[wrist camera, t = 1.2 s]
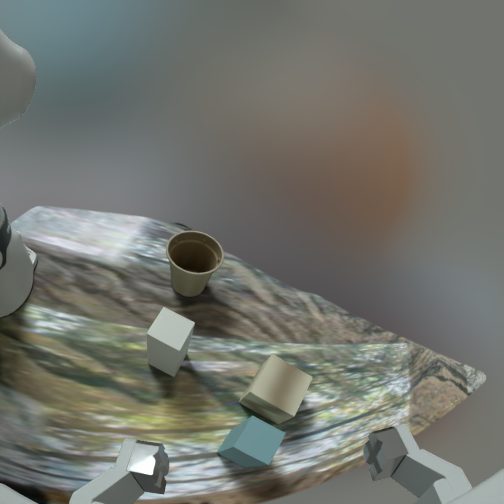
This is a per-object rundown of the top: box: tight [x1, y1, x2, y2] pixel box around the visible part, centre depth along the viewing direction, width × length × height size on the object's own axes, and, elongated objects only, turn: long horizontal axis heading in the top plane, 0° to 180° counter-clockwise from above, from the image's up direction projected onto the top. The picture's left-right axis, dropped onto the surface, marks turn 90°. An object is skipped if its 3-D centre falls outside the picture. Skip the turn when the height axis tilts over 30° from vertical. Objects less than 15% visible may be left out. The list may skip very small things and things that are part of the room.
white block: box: [147, 307, 195, 377], centre depth 37 cm, size 4×4×10 cm
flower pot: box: [166, 231, 224, 297], centre depth 48 cm, size 9×9×9 cm
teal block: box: [217, 415, 286, 468], centre depth 30 cm, size 4×4×10 cm
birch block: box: [239, 354, 313, 424], centre depth 39 cm, size 7×7×6 cm
